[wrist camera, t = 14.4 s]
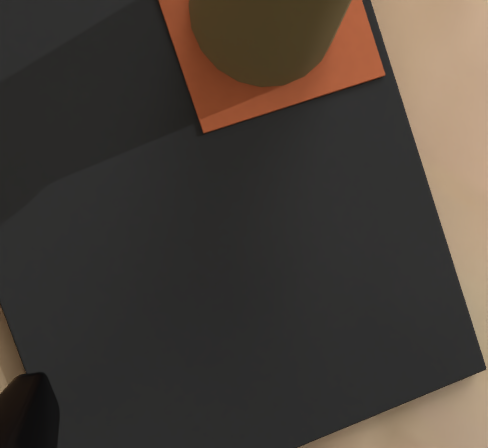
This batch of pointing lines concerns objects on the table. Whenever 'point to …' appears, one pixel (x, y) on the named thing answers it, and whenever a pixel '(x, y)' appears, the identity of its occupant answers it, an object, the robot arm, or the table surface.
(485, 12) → the table surface
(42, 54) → the rubber mat
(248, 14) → the cork
